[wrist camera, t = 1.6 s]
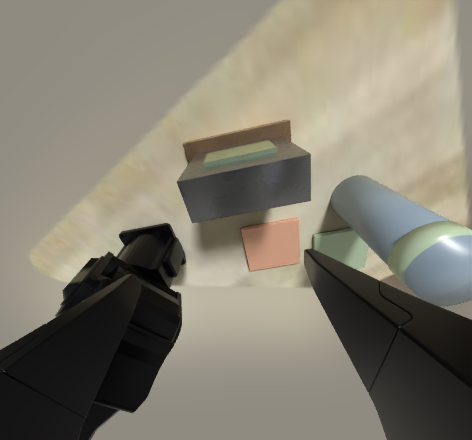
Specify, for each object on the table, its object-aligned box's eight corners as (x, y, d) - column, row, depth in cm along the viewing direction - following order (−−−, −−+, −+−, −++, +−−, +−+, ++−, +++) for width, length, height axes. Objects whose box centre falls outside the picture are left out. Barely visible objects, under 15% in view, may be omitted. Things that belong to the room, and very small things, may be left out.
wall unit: (199, 189, 22) (183, 237, 14) (184, 142, 19) (154, 169, 11) (290, 171, 21) (325, 211, 13) (287, 119, 18) (329, 131, 11)
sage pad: (313, 272, 29) (314, 275, 28) (313, 234, 25) (315, 237, 25) (361, 264, 28) (364, 267, 28) (369, 224, 25) (372, 227, 24)
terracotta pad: (249, 267, 28) (250, 271, 27) (240, 227, 24) (240, 230, 24) (298, 259, 27) (300, 262, 27) (296, 217, 24) (298, 220, 23)
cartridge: (328, 219, 24) (408, 312, 13) (331, 179, 21) (432, 255, 11) (372, 211, 24) (490, 301, 13) (380, 170, 21) (536, 239, 10)
